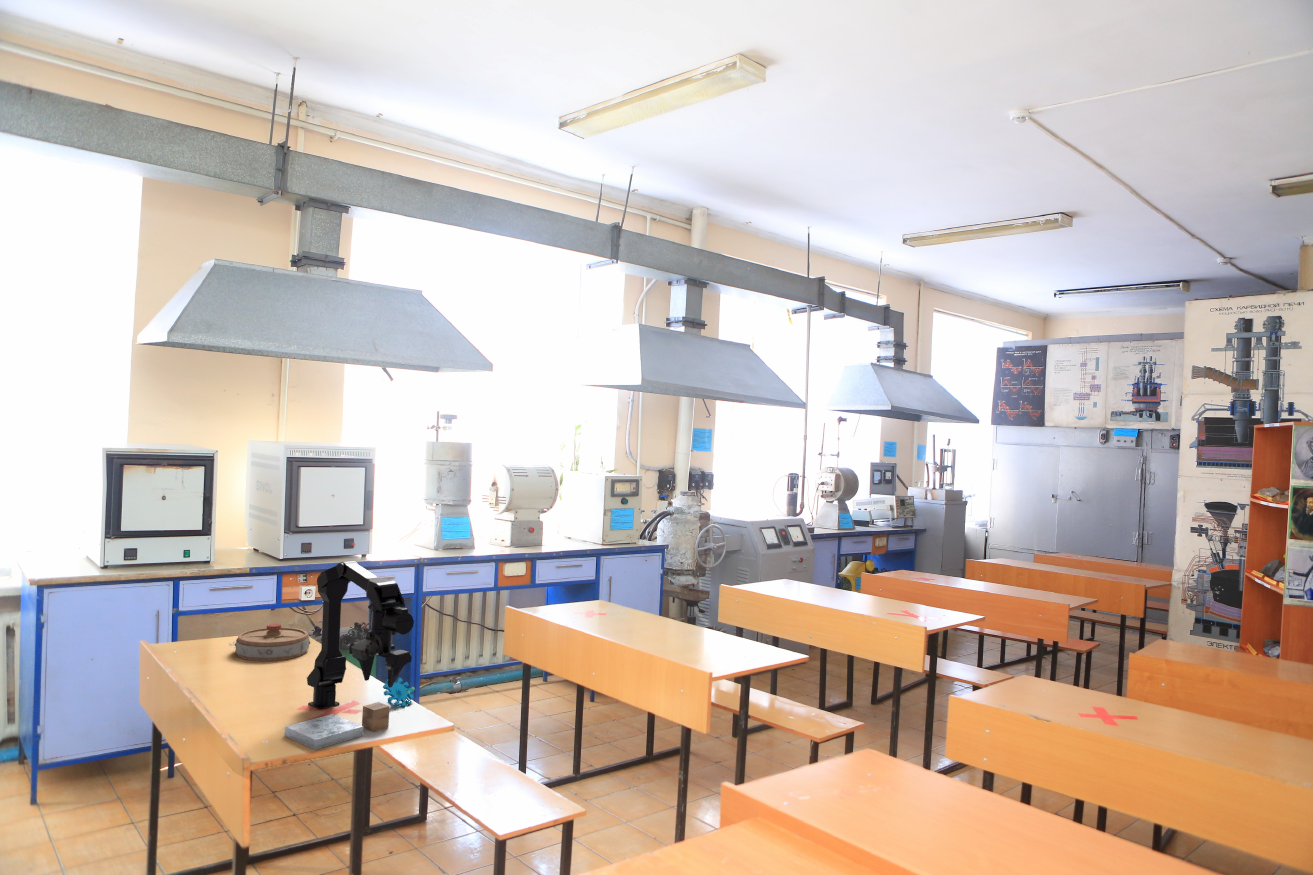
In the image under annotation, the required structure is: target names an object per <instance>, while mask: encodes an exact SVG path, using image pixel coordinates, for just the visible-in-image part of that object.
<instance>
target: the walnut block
mask: <svg viewBox="0 0 1313 875" xmlns="http://www.w3.org/2000/svg"><path fill="white" fill-rule="evenodd" d="M390 708H391V707H390V705H388V704H386V703H383V702H379V701H378V702H373V703H368V704H364V705H362V712H361V713H362V716H361V717H362V718H361V726H363V730H366V731H368V732H371V733H374V732H378V731H381V730H385V729H388V728H389V726H390V725H389V724H390V722H389V721H390Z"/></svg>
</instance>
